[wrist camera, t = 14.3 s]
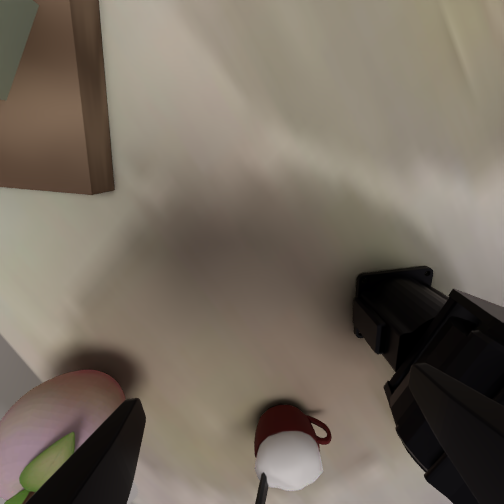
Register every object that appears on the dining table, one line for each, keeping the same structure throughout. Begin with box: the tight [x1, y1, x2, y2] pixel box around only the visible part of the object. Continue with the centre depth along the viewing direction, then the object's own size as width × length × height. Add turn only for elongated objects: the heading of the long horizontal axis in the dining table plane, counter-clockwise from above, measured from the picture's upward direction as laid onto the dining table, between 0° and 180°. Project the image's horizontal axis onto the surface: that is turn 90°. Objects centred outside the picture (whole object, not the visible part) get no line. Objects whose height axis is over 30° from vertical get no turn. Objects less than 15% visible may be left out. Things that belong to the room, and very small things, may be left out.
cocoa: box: [254, 405, 331, 504], centre depth 21 cm, size 10×6×12 cm, turn 78°
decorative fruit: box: [0, 370, 125, 504], centre depth 19 cm, size 9×8×10 cm
